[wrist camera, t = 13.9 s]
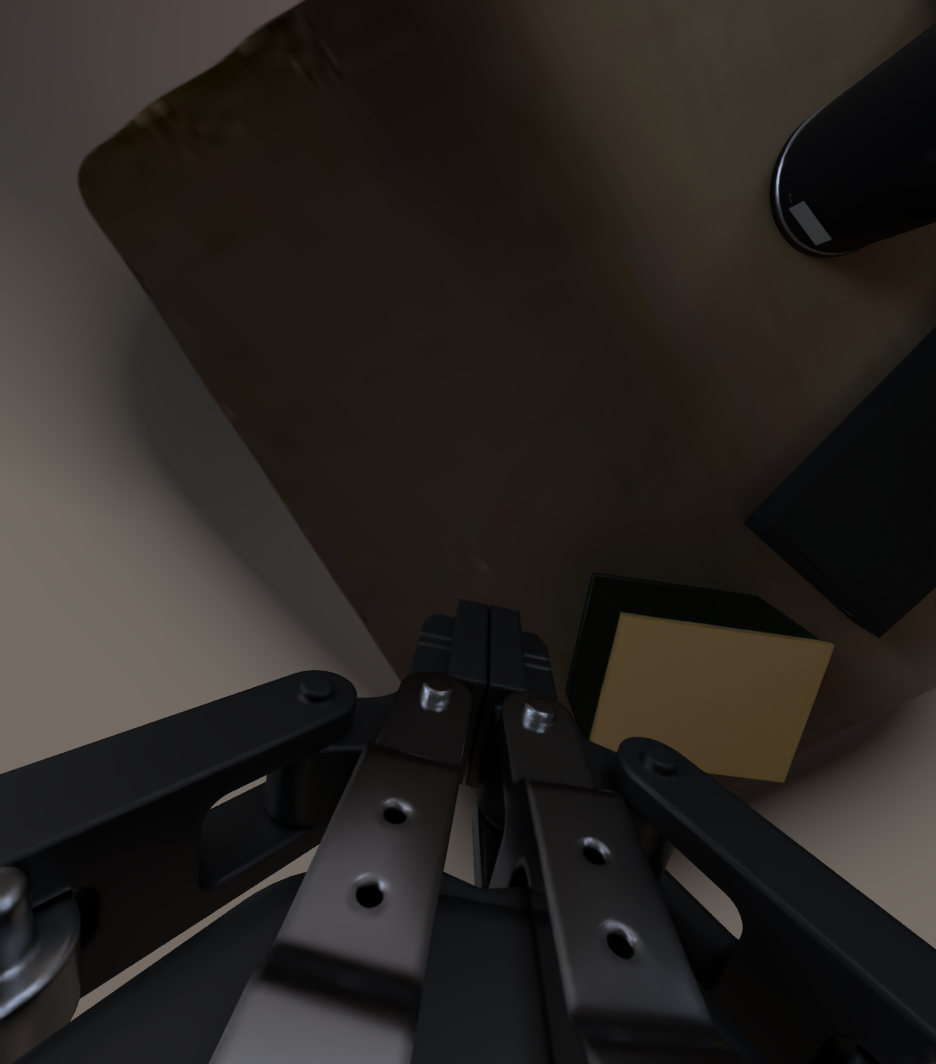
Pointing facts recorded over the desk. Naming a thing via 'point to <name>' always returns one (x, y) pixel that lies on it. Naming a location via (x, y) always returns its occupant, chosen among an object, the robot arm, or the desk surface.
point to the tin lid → (711, 693)
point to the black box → (659, 602)
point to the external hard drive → (867, 501)
